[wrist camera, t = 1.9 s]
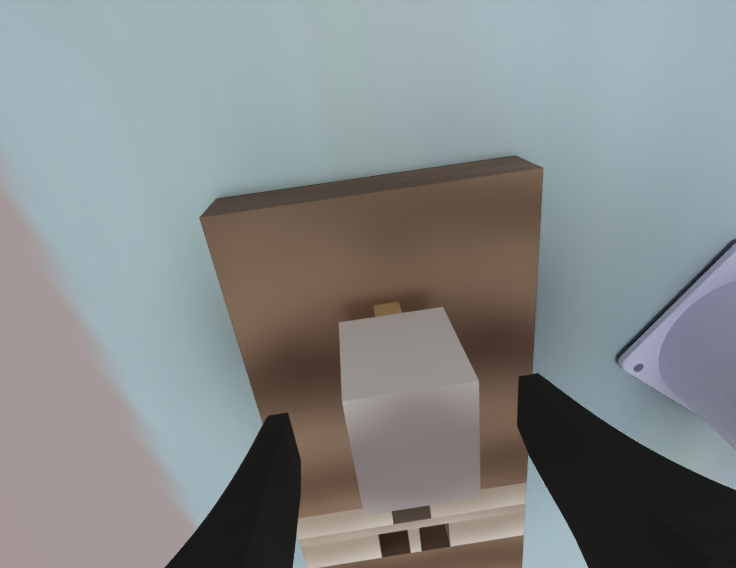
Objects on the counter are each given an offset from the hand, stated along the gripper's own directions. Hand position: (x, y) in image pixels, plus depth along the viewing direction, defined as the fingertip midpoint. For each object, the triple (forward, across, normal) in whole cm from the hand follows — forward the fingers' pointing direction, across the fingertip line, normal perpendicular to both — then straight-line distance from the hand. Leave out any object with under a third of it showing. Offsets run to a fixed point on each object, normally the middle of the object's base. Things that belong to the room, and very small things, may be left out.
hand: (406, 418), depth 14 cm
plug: (+5, 0, 0) cm, 5 cm away
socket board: (+7, 0, +6) cm, 9 cm away
